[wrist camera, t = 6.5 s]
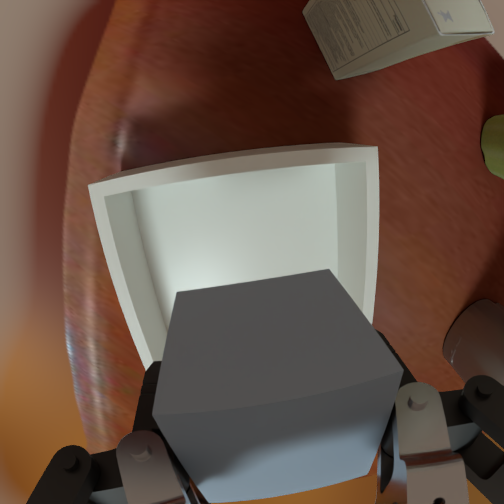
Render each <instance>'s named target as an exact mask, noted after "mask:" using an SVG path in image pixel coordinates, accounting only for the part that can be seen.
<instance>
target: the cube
mask: <svg viewBox="0 0 504 504" xmlns="http://www.w3.org/2000/svg"><path fill="white" fill-rule="evenodd" d="M403 371H404V369H403V368H402V367H401V365H400V364H399V362H398V361H397V359H396V358H395V357H394V355H393V354H392V352H391V351H390V350H389V348H388V347H387V345H386V344H385V343H384V341H383V340H382V338H381V337H380V336H379V334H378V333H377V332H376V330H375V329H374V327H373V326H372V325H371V323H370V322H369V321H368V319H367V318H366V317H365V315H364V314H363V313H362V311H361V310H360V309H359V307H358V306H357V305H356V303H355V302H354V301H353V299H352V298H351V297H350V295H349V294H348V293H347V291H346V290H345V289H344V287H343V286H342V285H341V284H340V282H339V281H338V280H337V278H336V277H335V276H334V274H333V273H332V272H331V271H330V269H324V270H318V271H312V272H306V273H300V274H294V275H288V276H281V277H275V278H269V279H262V280H256V281H249V282H243V283H236V284H229V285H222V286H215V287H208V288H201V289H194V290H187V291H179V292H177V293H176V297H175V301H174V306H173V310H172V315H171V319H170V324H169V328H168V333H167V338H166V342H165V347H164V352H163V357H162V362H161V367H160V373H159V378H158V383H157V389H156V394H155V400H154V406H153V412H152V416H153V417H154V419H155V421H156V423H157V425H158V426H159V428H160V430H161V432H162V433H163V435H164V437H165V438H166V440H167V442H168V443H169V445H170V447H171V448H172V450H173V451H174V453H175V455H176V456H177V458H178V459H179V461H180V462H181V464H182V466H183V467H184V469H185V470H186V472H187V473H188V475H189V476H190V477H191V479H192V480H193V482H194V483H195V485H196V486H197V487H198V489H199V490H200V492H201V493H202V494H203V496H204V497H205V498H206V500H207V501H208V502H209V503H222V502H234V501H245V500H254V499H262V498H269V497H275V496H281V495H287V494H293V493H298V492H303V491H307V490H312V489H316V488H321V487H325V486H329V485H332V484H336V483H339V482H343V481H347V480H350V479H354V478H357V477H360V476H363V475H366V474H368V472H369V470H370V467H371V465H372V462H373V460H374V458H375V455H376V453H377V450H378V448H379V445H380V442H381V440H382V437H383V434H384V432H385V429H386V426H387V423H388V420H389V417H390V414H391V411H392V408H393V405H394V402H395V399H396V395H397V392H398V389H399V385H400V382H401V378H402V375H403Z"/></svg>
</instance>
